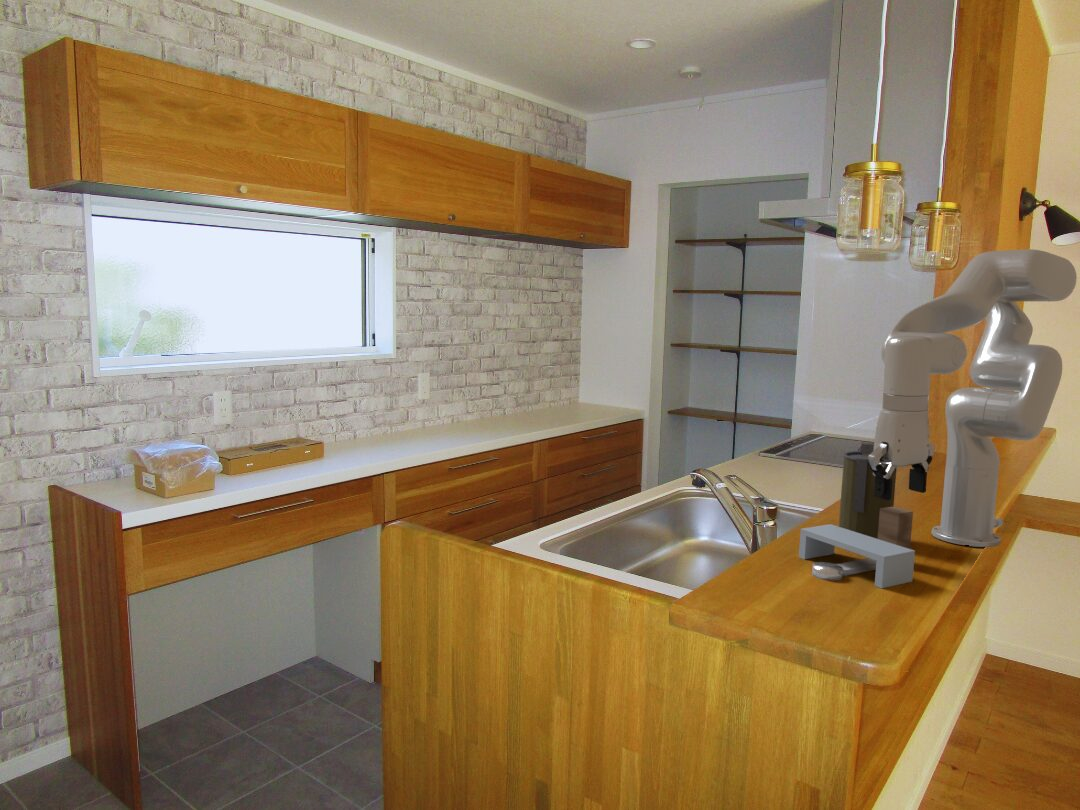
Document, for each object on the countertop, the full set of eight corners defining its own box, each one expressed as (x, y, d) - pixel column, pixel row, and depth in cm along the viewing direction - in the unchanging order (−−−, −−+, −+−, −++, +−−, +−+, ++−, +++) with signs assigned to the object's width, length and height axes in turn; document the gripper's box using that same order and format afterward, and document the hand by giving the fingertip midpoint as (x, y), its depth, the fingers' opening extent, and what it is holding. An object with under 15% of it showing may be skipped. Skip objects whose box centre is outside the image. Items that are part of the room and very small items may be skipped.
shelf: (828, 551, 146) (830, 524, 145) (912, 581, 130) (914, 550, 129) (798, 557, 142) (800, 528, 141) (881, 588, 126) (884, 556, 126)
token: (822, 570, 136) (823, 560, 136) (847, 578, 132) (848, 568, 132) (806, 574, 133) (806, 564, 133) (831, 582, 129) (832, 572, 129)
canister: (846, 528, 163) (853, 437, 160) (897, 538, 156) (905, 443, 154) (829, 539, 154) (836, 443, 152) (883, 550, 148) (891, 450, 145)
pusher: (889, 557, 143) (894, 506, 142) (908, 563, 140) (913, 511, 138) (829, 569, 135) (833, 515, 134) (848, 576, 132) (852, 521, 131)
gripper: (917, 397, 144) (912, 484, 147) (855, 405, 136) (851, 496, 139) (954, 402, 138) (948, 492, 140) (892, 410, 130) (886, 506, 132)
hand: (900, 494), depth 139 cm, fingers open, 9 cm apart
